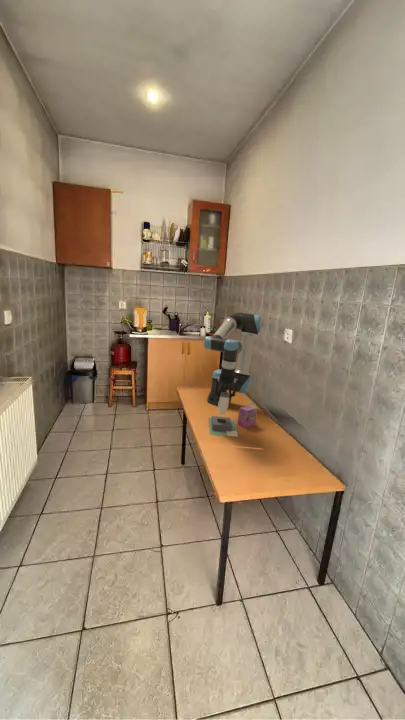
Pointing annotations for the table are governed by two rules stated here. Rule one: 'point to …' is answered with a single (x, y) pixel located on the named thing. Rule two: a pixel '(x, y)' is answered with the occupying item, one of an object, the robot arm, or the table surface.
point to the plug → (223, 403)
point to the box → (247, 416)
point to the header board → (221, 433)
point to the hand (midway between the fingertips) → (223, 406)
